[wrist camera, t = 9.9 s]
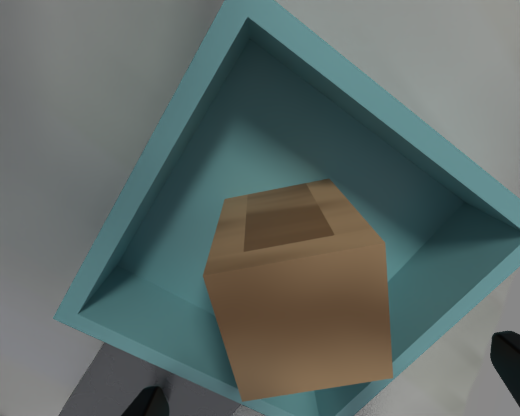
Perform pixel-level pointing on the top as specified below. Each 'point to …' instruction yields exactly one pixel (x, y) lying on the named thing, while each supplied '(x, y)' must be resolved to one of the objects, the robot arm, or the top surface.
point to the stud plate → (138, 388)
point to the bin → (278, 176)
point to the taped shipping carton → (299, 291)
